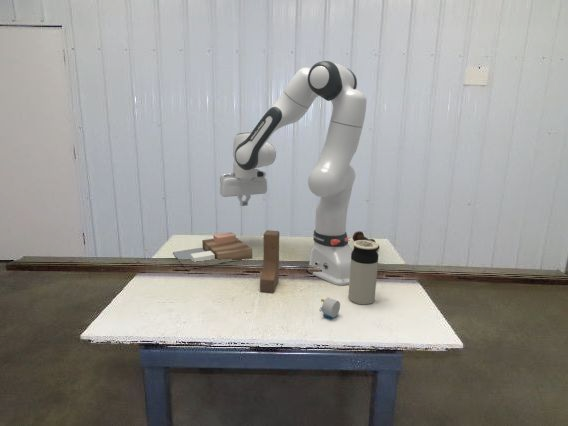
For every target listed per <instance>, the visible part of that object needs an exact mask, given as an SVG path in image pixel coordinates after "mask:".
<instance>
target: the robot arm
mask: <svg viewBox="0 0 568 426" xmlns="http://www.w3.org/2000/svg"><path fill="white" fill-rule="evenodd" d="M357 87H358V80H357V77H356V75H355V73H354V72H353V71H352V70H351V69H349V68H347V67H346V66H345V67H344V65H342V64H339V63H337V62H333V61H328V60H322V61H318V62H316V63H315V64H313V65H312V66H311V67H301V68H300V69H298V70H297V72H296V73H295V74H294V75H293V76H292V78H291V79H290V80H289V82H288V83H287V84H286V86H285V87H284V89H283V91H282V92H281V94H280V95H279V97H278V98H277V99H276V101H275V102H274V103H273V105H272V106H271V107H270V108H269V109H268V110H267V111H266V112H265V114H264V115H263V116H262V117H261V119H260V120H259V122H258V123H257V124H256V126H255V127H254V128H253V130H252V131H251V132H241V133H240V132H239V133H237V134H236V135H235V136H234V139H233V144H232V145H233V146H232V147H233V148H232V156H233V164H232V165H233V168H232V172H231V173H223V174H222V175H221V176H220V177H219V183H220V186H219V194H220V196H222V197H223V198H228V197H237V199H238V201H239V206H241V207H245V206H249V201H250V199H251V197H252V195H253V196H254V195H263V194H267V191H268V181H267V178H266V172H265V171H263V170H260V168H263V167H268V166H270V165H272V164H273V163H274V162H275V160H276V157H277V151H276V148H275V146H274V145H273V144H271V143H270V142H268V140H269V139H271V138H270V137H271V136H272V135H273V134H274V133H275V132H276V131H277V130H279V129H281V128H283V127H286V126H288V125H291V124H295V123H297V122H298V121H300V120H301V119H302V118H303V117H304V116H305V115H306V113H307V112H308V110H309V109H310V107H311V106H312V104H313V103H314V101H315V100H317V99H316V98H318V97H320V98H323V99H324V100H325V101H328V102H331V105H332V111H331V112H332V113H331V115H330V119H329V120H330V121H329V125H328V127H327V134H326V138H325V142H324V144H323V148H322V150H321V152H320V154H319V157H318V159H317V161H316V164H315V166H314V168H313V170H312V171H311V173H310V174H309V176H308V179H307V184H308V188H309V191H310V192H311V193H312V194H313V195H315V196H317V197H320V198H319V203H318V205H317V207H316V210H315V222H314V223H315V225H314V226H315V227H314V230H313V234H312V235H313V241H314V242H313V245H312V247H311V250H310V257H309V264H308V266H309V265H313V266H317V267H319V268H320V269H321V270H322V272H313V274H312V275H313V276H315V277H317V278H320V279H322V280H325V281H326V282H329V283H331V284H332V285H333V284H334V285H338V286H346V285H349V280H350V266H351V253H352V251H353V248H351V246H350V244H349V242H350V241H351V237H348V234H347V218H348V217H347V214H348V208H349V204H350V199H351V195H352V188H353V185H354V183H355V181H356V172H355V169H354V168H353V166H352V165H350V164H351V162H352V160H353V158H354V156H355V154H356V152H357V150H358V146H359V143H360V139H361V135H362V132H363V127H364V122H365V117H366V112H367V97H366V95H365V94H364V92H362V91H361V90H359V89H357ZM258 168H259V169H258ZM243 196H245V199H244V200H243Z"/></svg>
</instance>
